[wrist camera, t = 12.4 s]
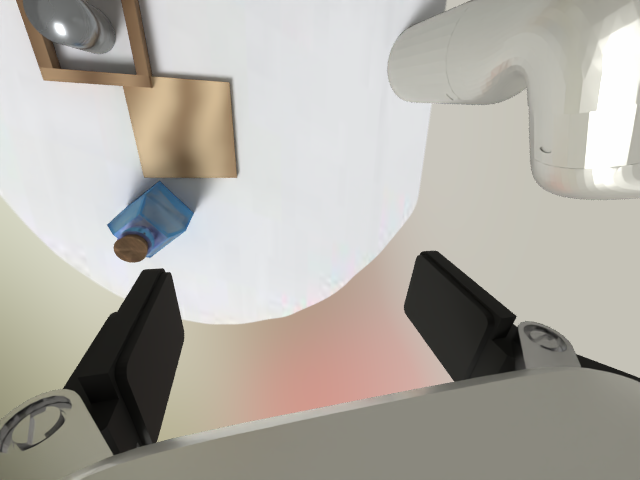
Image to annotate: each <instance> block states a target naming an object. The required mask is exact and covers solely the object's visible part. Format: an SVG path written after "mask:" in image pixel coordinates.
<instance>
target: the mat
mask: <svg viewBox="0 0 640 480" xmlns="http://www.w3.org/2000/svg"><path fill="white" fill-rule="evenodd" d="M151 79H152V85H153V88H146V87H132V86H123V89H124V93H125V98H126V102H127V106H128V110H129V115H130V119H131V123H132V128H133V132H134V136H135V140H136V145H137V149H138V153H139V158H140V162H141V166H142V170H143V175H144V178H237V172H236V159H235V146H234V133H233V120H232V108H231V95H230V83H229V82H217V81H204V80H191V79H179V78H166V77H153V76H151Z"/></svg>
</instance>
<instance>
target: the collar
mask: <svg viewBox="0 0 640 480" xmlns="http://www.w3.org/2000/svg"><path fill="white" fill-rule="evenodd" d="M16 1H17V4H18V7H19V10H20V13H21V16H22V19H23V22H24V25H25V28H26V30H27V33H28V36H29V39H30V42H31V45H32V48H33V51H34V54H35V56H36V59H37V62H38V65H39V68H40V71H41V74H42V77H43V80H46V81H59V82H74V83H88V84H102V85H117V86H132V87H146V88H153V85H152V79H151V76H152V71H151V66H150V61H149V55H148V50H147V45H146V39H145V34H144V29H143V23H142V18H141V13H140V7H139V2H138V0H121V2H122V7H123V12H124V16H125V21H126V26H127V31H128V35H129V40H130V45H131V50H132V54H133V59H134V64H135V69H136V74H137V75H131V74H119V73H106V72H93V71H80V70H67V69H61V68H60V65H59V62H58V58H57V55H56V52H55V49H54V46H53V42H52V41H51V40H49V39H47V38H46V37H44V36H43V35H42V34H40V33H39V32H38V31H37V30H36V29H35V28H34V27H33V25H32V24H31V23H30V21H29V19H28V18H27V16H26V13H25V11H24V7H23V0H16Z"/></svg>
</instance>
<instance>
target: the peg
mask: <svg viewBox="0 0 640 480" xmlns="http://www.w3.org/2000/svg"><path fill="white" fill-rule="evenodd" d="M23 7H24V11H25V13H26V16H27V18H28V19H29V21H30V23H31V24H32V25H33V27H34V28H35V29H36V30H37V31H38V32H39V33H40V34H42V35H43V36H44V37H46V38H47V39H49V40H51V41H53V42H55V43H58V44H62V45H66V46H69V47H73V48H76V49H80V50H83V51H87V52H91V53H94V54H104V53H107V52H109V51H110V50H111V49H112V48H113V46H114V43H115V32H114V29H113V26H112V24H111V22H110V21H109V19H108V18H107V17H106V16H105V15H104V14H103V13H102V12H101V11H100V10H98V9H97V8H95V7H93V6H92V5H90V4H88V3H87V2H85V1H83V0H23Z"/></svg>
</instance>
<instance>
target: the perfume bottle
mask: <svg viewBox="0 0 640 480" xmlns="http://www.w3.org/2000/svg"><path fill="white" fill-rule="evenodd" d="M193 214H194V213H193V212H192V211H191V210H190V209H189V208H188V207H187V206H186V205H184V204H183V203H182V202H181V201H180V200H179V199H178V198H177V197H176V196H175V195H174V194H173V193H172V192H171V191H170V190H169V189H167V188H166V187H165V186H164V185H163V184H162V183H161V182H160V181H159V182H158V183H156V184H155V185H154V186H153V187H151V188H150V189H149V190H148V191H146V192H145V193H144V194H143V195H141V196H140V197H139V198H137V199H136V200H135V201H134V202H132V203H131V204H130V205H129V206H127V207H126V208H125V209H124V210H123V211H122V212H121V213H120V214H118V215H117V216H116V217H115V218H114V219H113V220H112V221H111V222H110V223H109V224H107V226H108V227H109V229H110V230H111V232H112V234H113V235H114V236H116V237H117V238H118V239H117V241H116V242H115V244H114V252H115V254H116V255H117V256H118V257H119V258H120V259H122V260H124V261H127V262H140V261H141V260H143V259H144V258H145V257H149V258H150V257H152V256H153V255H154V254H156V253H157V252H158V251H160V250H161V249H162V248H164V247H165V246H166V245H167V244H169V243H170V242H171V241H173V240H174V239H175V238H177V237H178V236H179V235H181V234H182V233H183V232H184V231H186V229H187V227H188V225H189V222H190V220H191V218H192V216H193Z"/></svg>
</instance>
